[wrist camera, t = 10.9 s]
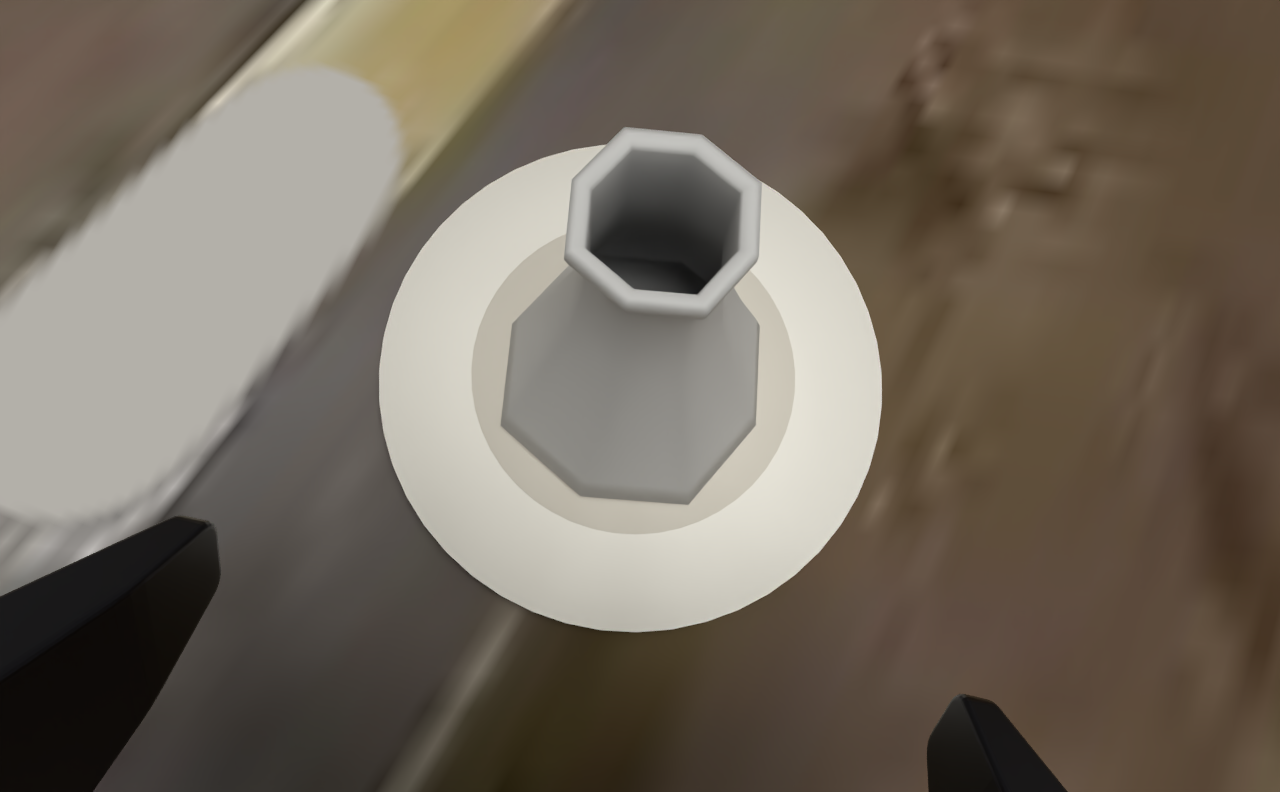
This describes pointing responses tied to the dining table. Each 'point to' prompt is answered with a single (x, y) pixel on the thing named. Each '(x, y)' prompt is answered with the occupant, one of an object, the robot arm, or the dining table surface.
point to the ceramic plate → (613, 528)
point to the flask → (643, 324)
